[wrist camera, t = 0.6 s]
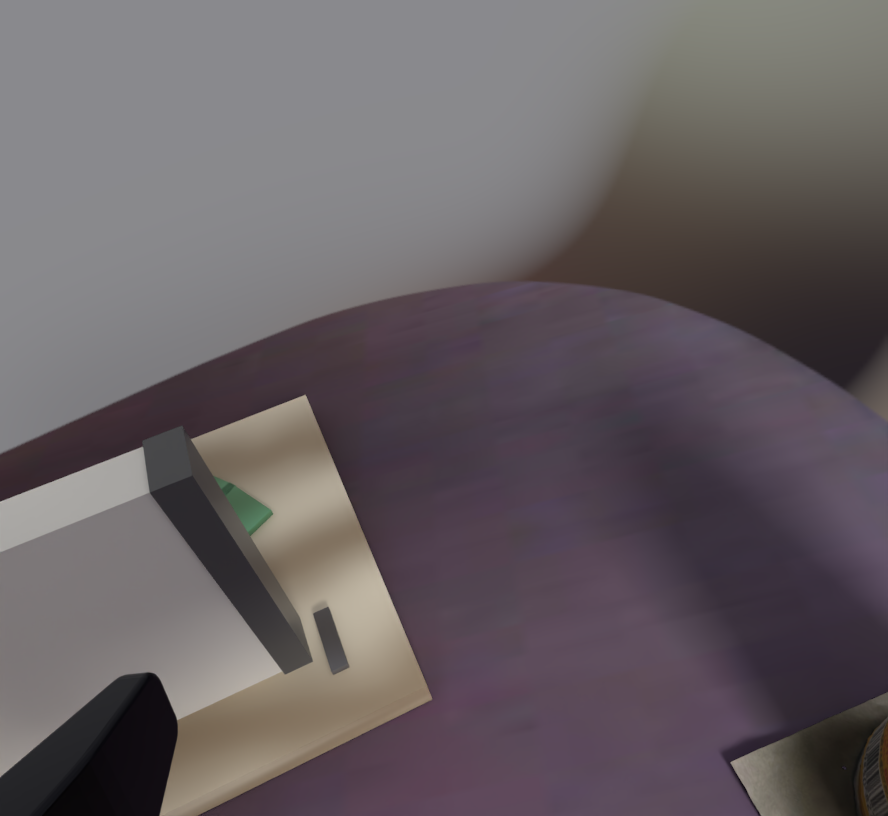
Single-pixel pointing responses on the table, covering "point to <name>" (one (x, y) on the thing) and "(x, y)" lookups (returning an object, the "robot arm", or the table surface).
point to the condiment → (824, 767)
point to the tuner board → (319, 607)
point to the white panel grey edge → (133, 592)
